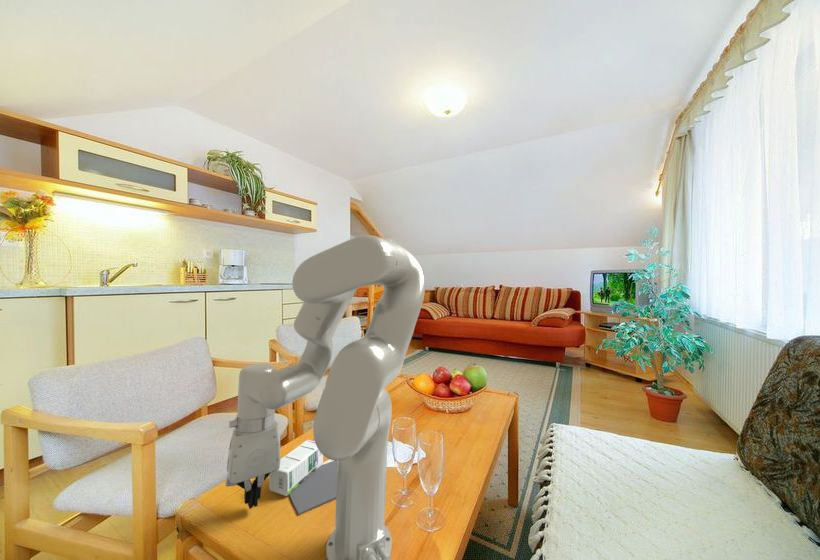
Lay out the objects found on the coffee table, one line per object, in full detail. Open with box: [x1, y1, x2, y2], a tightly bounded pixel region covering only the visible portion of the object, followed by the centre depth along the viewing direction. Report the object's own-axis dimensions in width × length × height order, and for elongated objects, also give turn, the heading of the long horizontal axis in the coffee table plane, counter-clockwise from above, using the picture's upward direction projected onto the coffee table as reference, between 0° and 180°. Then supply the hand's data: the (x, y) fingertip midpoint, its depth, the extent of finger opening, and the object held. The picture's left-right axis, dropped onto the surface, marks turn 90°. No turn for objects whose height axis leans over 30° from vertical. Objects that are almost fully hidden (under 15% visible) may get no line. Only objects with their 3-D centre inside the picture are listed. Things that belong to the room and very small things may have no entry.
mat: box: [288, 460, 338, 516], centre depth 75 cm, size 14×15×1 cm
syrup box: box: [268, 439, 324, 497], centre depth 77 cm, size 6×6×14 cm
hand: (252, 503), depth 65 cm, fingers closed
